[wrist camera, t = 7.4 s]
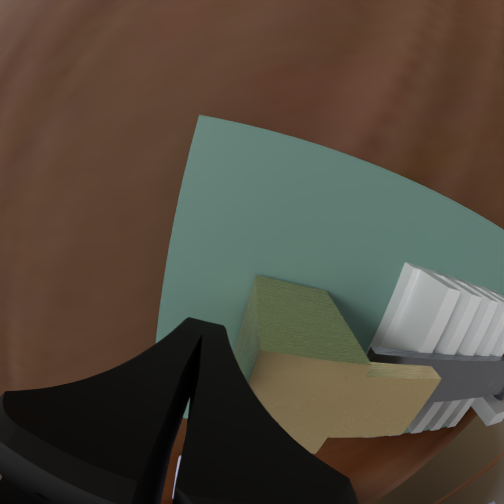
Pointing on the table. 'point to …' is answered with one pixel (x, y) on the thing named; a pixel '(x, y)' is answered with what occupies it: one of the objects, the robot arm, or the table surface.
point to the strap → (452, 372)
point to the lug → (322, 369)
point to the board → (334, 250)
